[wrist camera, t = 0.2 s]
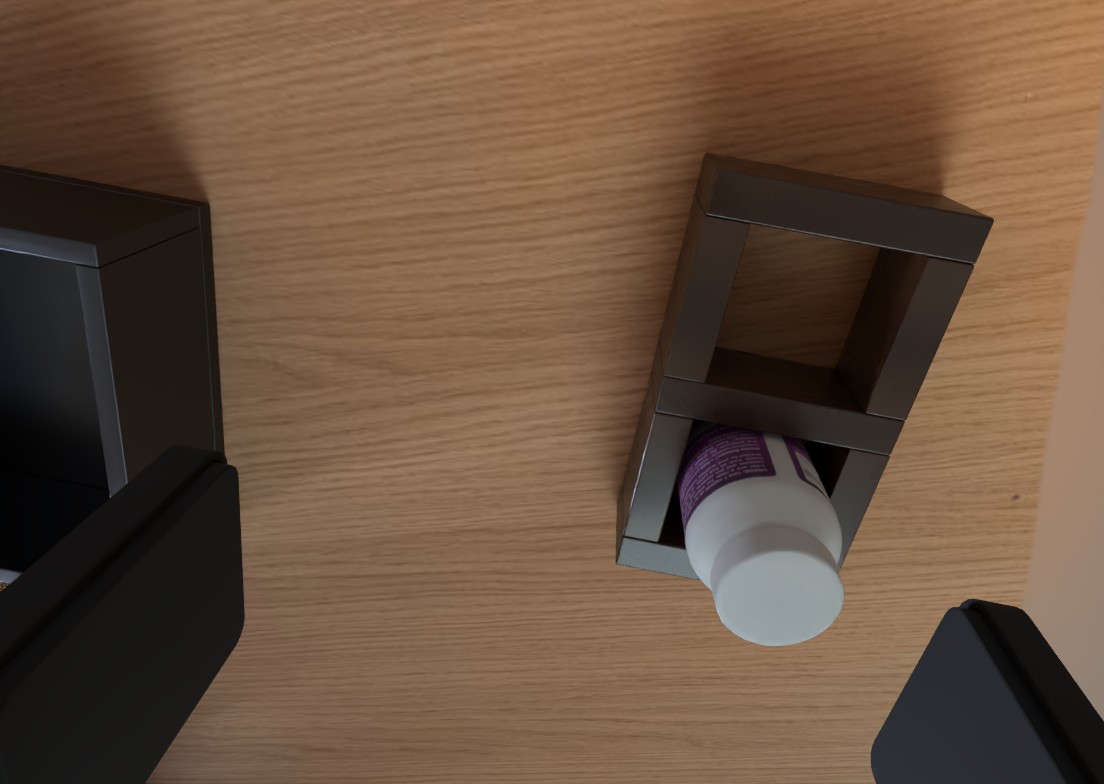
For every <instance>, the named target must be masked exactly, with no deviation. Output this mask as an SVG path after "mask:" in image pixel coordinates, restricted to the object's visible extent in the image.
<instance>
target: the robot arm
mask: <svg viewBox="0 0 1104 784" xmlns="http://www.w3.org/2000/svg"><path fill="white" fill-rule="evenodd" d="M244 618H245V613H244V591H243V569H242V547H241V525H240V503H239V480H238V471H237V469H236V467H234V466H232V465H227V459H226V457H225V455H224V454H223V453H221V452H219V451H214V450H209V449H204V448H198V447H193V446H188V445H183V444H174V445H172V446H171V447H169V448H168V449H167V450H165V451H164V452H163V453H162V454H161V455H160V456H158V457H157V458H156V459H155V460H154V461H153V462H151V463H150V464H149V465H148V466H147V467H146V468H144V469H143V470H142V471H141V472H140V473H139V474H137V475H136V476H135V477H134V478H133V479H132V480H130V481H129V482H128V483H127V484H126V485H125V486H123V487H122V488H121V489H120V490H119V491H118V492H116V493H115V494H114V495H113V496H112V497H111V498H110V499H108V500H107V501H106V502H105V503H104V504H103V505H101V506H100V507H99V508H98V509H97V510H96V511H94V512H93V513H92V514H91V515H90V516H89V517H87V518H86V519H85V520H84V521H83V522H82V523H80V524H79V525H78V526H77V527H76V528H75V529H73V530H72V531H71V532H70V533H69V534H68V535H66V536H65V537H64V538H63V539H62V540H61V541H59V542H58V543H57V544H56V545H55V546H54V547H53V548H51V549H50V550H49V551H48V552H47V553H46V554H44V555H43V556H42V557H41V558H40V559H39V560H37V561H36V562H35V563H34V564H33V565H32V566H30V567H29V568H28V569H27V570H26V571H25V572H23V573H22V574H21V575H20V576H19V577H18V578H16V579H15V580H14V581H13V582H12V583H11V584H9V585H8V586H7V587H6V588H5V589H4V590H2V591H1V592H0V784H145V782H146V781H147V779H148V778H149V776H150V775H151V773H152V772H153V770H154V769H155V767H156V766H157V764H158V763H159V761H160V760H161V758H162V757H163V755H164V754H165V752H166V751H167V749H168V748H169V746H170V744H171V743H172V741H173V740H174V738H175V737H176V735H177V734H178V732H179V731H180V729H181V728H182V726H183V725H184V723H185V722H186V720H187V719H188V717H189V716H190V714H191V713H192V711H193V710H194V708H195V707H196V705H197V704H198V702H199V701H200V699H201V698H202V696H203V695H204V693H205V692H206V690H207V689H208V687H209V686H210V684H211V683H212V681H213V679H214V678H215V676H216V675H217V673H218V672H219V670H220V669H221V667H222V666H223V664H224V663H225V661H226V660H227V658H228V657H229V655H230V654H231V652H232V651H233V649H234V648H235V646H236V644H237V643H238V640H239V638H240V636H241V633H242V630H243V626H244ZM871 768H872V772H873V776H874V779H875V782H876V784H1104V721H1103V720H1102V718H1101V717H1100V716H1099V714H1098V713H1097V711H1096V710H1095V709H1094V707H1093V706H1092V704H1091V703H1090V702H1089V700H1088V699H1087V697H1086V696H1085V694H1084V693H1083V692H1082V690H1081V689H1080V688H1079V686H1078V685H1077V683H1076V682H1075V681H1074V679H1073V678H1072V676H1071V675H1070V673H1069V672H1068V671H1067V669H1066V668H1065V666H1064V665H1063V664H1062V662H1061V661H1060V659H1059V658H1058V656H1057V655H1056V654H1055V653H1054V651H1053V649H1052V648H1051V647H1050V645H1049V644H1048V642H1047V641H1046V640H1045V638H1044V637H1043V636H1042V634H1041V633H1040V631H1039V630H1038V628H1037V627H1036V626H1035V624H1034V623H1033V621H1032V620H1031V619H1030V617H1029V616H1028V615H1027V614H1026V613H1025V612H1024V611H1023V610H1022V609H1019V608H1017V607H1014V606H1009V605H1004V604H998V603H993V602H988V601H983V600H978V599H968V600H966V601H964V602H963V603H962V604H961V605H960V606H959V607H952V608H951V609H949V610H948V611H947V612H946V614H945V615H944V617H943V619H942V621H941V622H940V624H939V626H938V628H937V630H936V631H935V633H934V635H933V637H932V638H931V640H930V642H929V644H928V646H927V647H926V649H925V651H924V653H923V655H922V656H921V658H920V660H919V662H918V664H917V665H916V667H915V669H914V671H913V673H912V674H911V676H910V678H909V680H908V682H907V683H906V685H905V687H904V689H903V690H902V692H901V694H900V696H899V698H898V699H897V701H896V703H895V705H894V707H893V708H892V710H891V712H890V714H889V716H888V717H887V719H886V721H885V723H884V725H883V726H882V728H881V730H880V732H879V734H878V735H877V737H876V739H875V741H874V743H873V746H872V750H871Z"/></svg>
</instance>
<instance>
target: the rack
mask: <svg viewBox="0 0 1104 784" xmlns="http://www.w3.org/2000/svg"><path fill="white" fill-rule="evenodd" d="M695 192H696V194H695V195H694V198H693V202H692V206H691V210H690V214H689V218H688V222H687V226H686V230H685V234H684V239H683V243H682V247H681V251H680V255H679V259H678V263H677V267H676V271H675V275H674V279H673V283H672V287H671V291H670V295H669V299H668V303H667V307H666V311H665V315H664V319H663V323H662V327H661V332H660V338H659V340H658V344H657V348H656V352H655V356H654V360H653V364H652V370H651V373H650V377H649V381H648V385H647V389H646V393H645V397H644V401H643V405H642V409H641V413H640V417H639V421H638V425H637V429H636V433H635V437H634V441H633V445H632V449H631V453H630V457H629V461H628V465H627V470H626V474H625V478H624V484H623V486H622V490H621V494H620V498H619V502H618V506H617V524H616V564H618V565H623V566H628V567H633V568H639V569H644V570H649V571H654V572H659V573H665V574H670V575H675V576H680V577H685V578H691V579H696V580H700V579H699V577H698V576H697V575H696V573H695V571H694V569H693V568H692V566H691V563H690V560H689V557H688V554H687V551H686V545H685V536H684V528H683V521H682V513H681V505H680V497H679V493H674V492H673V491H674V487H675V484H676V480H677V477H678V473H679V470H680V466H681V463H682V459H683V456H684V452H685V449H686V445H687V442H688V439H689V435H690V432H691V428H692V425H693V421H694V420H693V419H698V420H703V421H708V422H714V423H719V424H724V425H730V426H735V427H740V428H746V429H751V430H756V431H761V432H767V433H772V434H777V435H783V436H788V437H793V438H799V439H804V440H808V443H807V446H806V448H805V449H806V451H807V453H808V455H809V457H810V459H811V461H812V464H813V466H814V468H815V470H816V472H817V474H818V476H819V478H820V481H821V483H822V485H823V486H824V489H825V491H826V493H827V495H828V497H829V500H830V502H831V504H832V506H833V508H834V510H835V512H836V514H837V517H838V521H839V524H840V528H841V533H842V548H841V553H840V557H839V560H838V563H837V569H838V572H839V570H840V568H841V566H842V564H843V561H844V559H845V557H846V555H847V552H848V550H849V548H850V546H851V543H852V541H853V539H854V537H855V534H856V532H857V530H858V528H859V525H860V523H861V521H862V519H863V516H864V514H865V512H866V510H867V507H868V505H869V503H870V501H871V498H872V496H873V494H874V492H875V489H876V487H877V485H878V483H879V480H880V478H881V476H882V474H883V471H884V469H885V467H886V465H887V462H888V460H889V458H890V456H889V455H890V454H891V452H892V450H893V448H894V445H895V443H896V441H897V439H898V436H899V434H900V432H901V430H902V427H903V425H904V420H906V419H907V417H908V414H909V412H910V410H911V408H912V405H913V403H914V401H915V399H916V396H917V394H918V392H919V390H920V387H921V385H922V383H923V381H924V378H925V376H926V374H927V372H928V369H929V367H930V365H931V363H932V360H933V358H934V356H935V354H936V351H937V349H938V347H939V345H940V342H941V340H942V338H943V336H944V333H945V331H946V329H947V327H948V324H949V322H950V320H951V318H952V315H953V313H954V311H955V309H956V306H957V304H958V302H959V300H960V297H961V295H962V293H963V291H964V288H965V286H966V284H967V282H968V279H969V277H970V275H971V273H972V270H973V268H974V265H973V264H975V263H976V261H977V258H978V256H979V254H980V252H981V249H982V247H983V245H984V243H985V240H986V238H987V236H988V234H989V231H990V229H991V227H992V225H993V222H994V219H993V218H991V217H989V216H987V215H985V214H982V213H980V212H978V211H976V210H974V209H971V208H969V207H967V206H965V205H963V204H960V203H958V202H956V201H954V200H952V199H949V198H947V197H945V196H943V195H937V194H932V193H926V192H921V191H915V190H910V189H904V188H899V187H893V186H888V185H882V184H877V183H871V182H866V181H860V180H855V179H849V178H844V177H838V176H833V175H827V174H822V173H816V172H811V171H805V170H800V169H794V168H789V167H783V166H778V165H772V164H767V163H761V162H756V161H750V160H745V159H739V158H734V157H728V156H723V155H717V154H712V153H705V155H704V158H703V162H702V166H701V170H700V174H699V179H698V183H697V187H696V191H695ZM750 224H756V225H761V226H766V227H772V228H777V229H783V230H788V231H794V232H799V233H805V234H810V235H816V236H821V237H826V238H832V239H837V240H843V241H848V242H854V243H859V244H865V245H870V246H876V247H881V251H880V253H879V256H878V259H877V261H876V264H875V267H874V269H873V272H872V275H871V277H870V280H869V282H868V285H867V288H866V290H865V293H864V296H863V298H862V301H861V304H860V306H859V309H858V312H857V314H856V317H855V319H854V322H853V325H852V327H851V330H850V333H849V335H848V338H847V341H846V343H845V346H844V349H843V351H842V354H841V356H840V359H839V362H838V364H837V367H836V369H837V370H836V369H831V368H825V367H820V366H815V365H809V364H804V363H799V362H793V361H788V360H783V359H777V358H772V357H767V356H761V355H756V354H751V353H745V352H740V351H734V350H729V349H724V348H718V347H715V346H716V342H717V339H718V335H719V332H720V328H721V325H722V321H723V318H724V315H725V311H726V308H727V304H728V301H729V297H730V294H731V290H732V287H733V283H734V280H735V276H736V273H737V269H738V266H739V263H740V259H741V256H742V252H743V249H744V245H745V242H746V238H747V235H748V231H749V228H750Z"/></svg>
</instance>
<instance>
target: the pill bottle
mask: <svg viewBox="0 0 1104 784" xmlns="http://www.w3.org/2000/svg"><path fill="white" fill-rule="evenodd" d="M693 420H694V421H693V425H692V428H691V432H690V435H689V439H688V442H687V445H686V449H685V452H684V456H683V459H682V463H681V466H680V470H679V473H678V477H677V482H678V490H679V497H680V505H681V513H682V521H683V528H684V536H685V545H686V551H687V554H688V557H689V560H690V563H691V566H692V568H693V569H694V571H695V573H696V575H697V576H698V577H699V579H700V580H701V581H702V582H703V583H704V584H705V585H706V586H707V587H708V588H709V589H710V590H712V593H713V598H714V602H715V606H716V610H717V612H718V615H719V617H720V619H721V620H722V622H723V623H724V624H725V625H726V627H727V628H728V629H729V630H731V631H732V632H733V633H734V634H736V635H738V636H739V637H741V638H743V639H745V640H748V641H751V642H754V643H757V644H761V645H770V646H783V645H791V644H796V643H800V642H803V641H806V640H809V639H810V638H813V637H815V636H817V635H818V634H820V633H821V632H823V631H824V630H825V629H827V628H828V627H829V626H830V625H831V624H832V623H833V622H834V620H835V619H836V617H837V616H838V615H839V613H840V611H841V608H842V606H843V601H844V589H843V584H842V581H841V578H840V575H839V572H838V569H837V563H838V560H839V557H840V553H841V548H842V533H841V528H840V524H839V521H838V517H837V514H836V512H835V510H834V508H833V506H832V504H831V502H830V500H829V497H828V495H827V493H826V491H825V489H824V486H823V485H822V483H821V481H820V478H819V476H818V474H817V472H816V470H815V468H814V466H813V464H812V461H811V459H810V457H809V455H808V453H807V451H806V449H805V447H804V444H803V442H802V440H801V439H799V438H793V437H788V436H783V435H777V434H772V433H767V432H761V431H756V430H751V429H746V428H740V427H735V426H730V425H724V424H719V423H714V422H708V421H703V420H698V419H693Z"/></svg>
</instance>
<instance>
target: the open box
mask: <svg viewBox="0 0 1104 784" xmlns="http://www.w3.org/2000/svg"><path fill="white" fill-rule="evenodd" d="M174 444H183V445H188V446H193V447H198V448H204V449H209V450H214V451H219V452H221V453H223V454H224V439H223V422H222V405H221V388H220V372H219V355H218V338H217V321H216V305H215V288H214V271H213V254H212V237H211V221H210V205H209V204H208V203H204V202H199V201H193V200H188V199H182V198H177V197H172V196H166V195H161V194H155V193H150V192H145V191H139V190H134V189H128V188H123V187H118V186H112V185H107V184H102V183H96V182H91V181H85V180H80V179H75V178H69V177H64V176H58V175H53V174H48V173H42V172H37V171H31V170H26V169H21V168H15V167H10V166H4V165H0V582H1V583H6V584H11V583H12V582H13V581H14V580H15V579H16V578H18V577H19V576H20V575H21V574H22V573H23V572H25V571H26V570H27V569H28V568H29V567H30V566H32V565H33V564H34V563H35V562H36V561H37V560H39V559H40V558H41V557H42V556H43V555H44V554H46V553H47V552H48V551H49V550H50V549H51V548H53V547H54V546H55V545H56V544H57V543H58V542H59V541H61V540H62V539H63V538H64V537H65V536H66V535H68V534H69V533H70V532H71V531H72V530H73V529H75V528H76V527H77V526H78V525H79V524H80V523H82V522H83V521H84V520H85V519H86V518H87V517H89V516H90V515H91V514H92V513H93V512H94V511H96V510H97V509H98V508H99V507H100V506H101V505H103V504H104V503H105V502H106V501H107V500H108V499H110V498H111V497H112V496H113V495H114V494H115V493H116V492H118V491H119V490H120V489H121V488H122V487H123V486H125V485H126V484H127V483H128V482H129V481H130V480H132V479H133V478H134V477H135V476H136V475H137V474H139V473H140V472H141V471H142V470H143V469H144V468H146V467H147V466H148V465H149V464H150V463H151V462H153V461H154V460H155V459H156V458H157V457H158V456H160V455H161V454H162V453H163V452H164V451H165V450H167V449H168V448H169V447H171V446H172V445H174Z"/></svg>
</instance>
